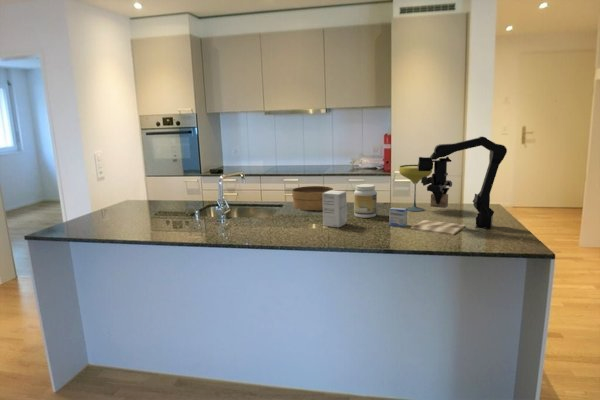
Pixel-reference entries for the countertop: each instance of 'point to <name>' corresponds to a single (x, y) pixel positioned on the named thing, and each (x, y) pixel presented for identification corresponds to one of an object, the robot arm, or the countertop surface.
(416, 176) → the cocktail glass
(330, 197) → the supplement box
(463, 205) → the countertop surface
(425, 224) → the birch board
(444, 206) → the block
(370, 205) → the supplement tub
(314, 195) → the steamer basket
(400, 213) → the medicine box
